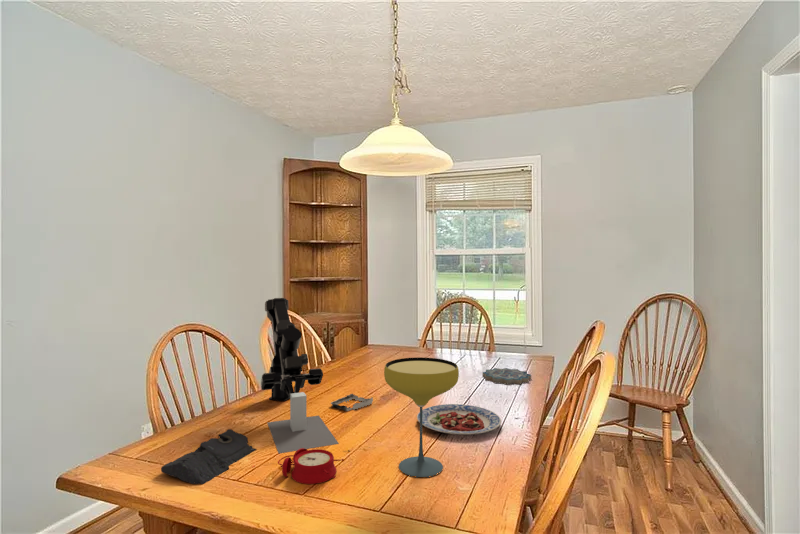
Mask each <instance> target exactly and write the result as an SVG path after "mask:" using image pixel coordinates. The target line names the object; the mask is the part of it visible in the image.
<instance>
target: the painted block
mask: <svg viewBox="0 0 800 534" xmlns="http://www.w3.org/2000/svg"><path fill="white" fill-rule="evenodd" d="M289 402H290V403H289V404H290V407H289V408H290V409H289V413H290V414H289V415H290V416H289V417H290V418H289V419H290V427H291V429H292V431H293V432H294V431H301V430H306V417H307V394H306V393H305V392H304V391H299V393H291V394H290V398H289Z"/></svg>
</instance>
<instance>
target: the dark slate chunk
mask: <svg viewBox="0 0 800 534" xmlns="http://www.w3.org/2000/svg"><path fill="white" fill-rule="evenodd" d="M217 436H218V438H216V437H212V438H210V439H208V440H207V441H202V442H200V445H199V446H198V447H197V448H196V449H195V450H194V451H190V452H188V453H186V454H183V455H182V456H181V457H178V458H176V459H175V460H173V461H169V462H168V463H166V464H164V465H162V466H161V468H160V470H161V473H162V474H166V475H169V476H170V477H173V478H176V479H179V480H180V481H183V482H185V483H190V484H191V485H204V484H206V483H208V482H211V481H212V480H213V479H215V478H216V477H219V476H220V475H222V474H224V473H225V472H227V471H229V470H230V466H232V465H233V464H234V463H235V464H236V463H237V462H239V461H240V460H242V459H244V458H245V457H246V456H249V455H250V454H251V453H254V452H255V451H257V448H255V447H253V445H249V444H248V443H249V438H248V436H247V435H245V434H243V433H239V432H236V431H235V430H233V429H230V428H228V429H226V430H225V431H224V432H222V433H219V434H218V435H217Z"/></svg>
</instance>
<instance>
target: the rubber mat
mask: <svg viewBox="0 0 800 534" xmlns="http://www.w3.org/2000/svg"><path fill="white" fill-rule="evenodd" d="M266 423H267V426H268V429H269V431H270V432H269V433H270V434H271V437H272V440H273V442H274V445H275V448H276V451H277V453H278V454H286V453H291V452H296V451H297V450H299V449H301V448H304V449H307V450H308V449H309V450H311V449H315V448H321V447H327V446H335V445H339V444H340V443H339V441H338V440H337V439H336V437H335V436H334V434H333V433H332V431H331V430H330V429H329V428H328V426H327V424H325V422H324V421H323V419H322V418H321V417H320V415H314V416H313V415H312V416H306V430H301V431H294V432H293V431H292V429H291V427H290V418H289V419H283V420H276V421H269V422H266Z"/></svg>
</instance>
